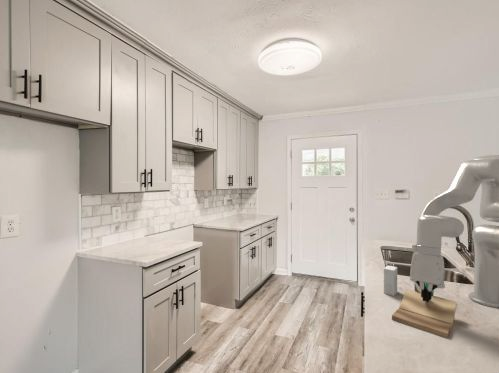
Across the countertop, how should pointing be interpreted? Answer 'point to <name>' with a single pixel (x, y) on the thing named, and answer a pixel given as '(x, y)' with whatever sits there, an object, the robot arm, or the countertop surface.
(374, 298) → the countertop surface
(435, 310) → the oak plank
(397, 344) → the countertop surface
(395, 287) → the skincare box
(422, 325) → the floor board
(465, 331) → the countertop surface
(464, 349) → the countertop surface
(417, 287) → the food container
